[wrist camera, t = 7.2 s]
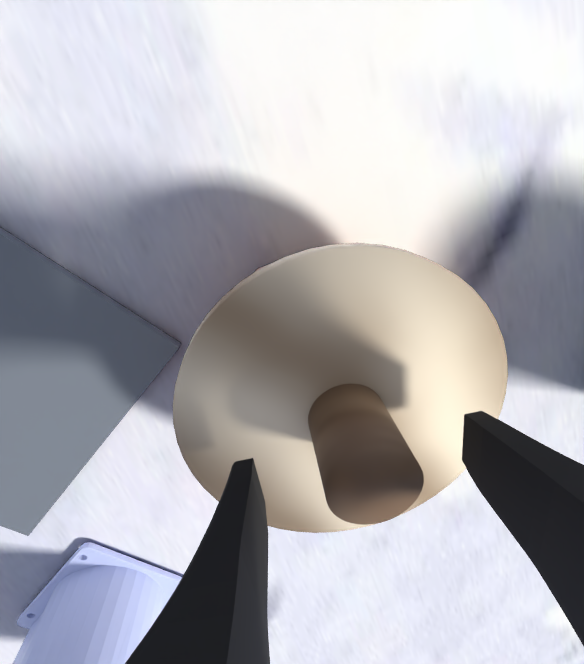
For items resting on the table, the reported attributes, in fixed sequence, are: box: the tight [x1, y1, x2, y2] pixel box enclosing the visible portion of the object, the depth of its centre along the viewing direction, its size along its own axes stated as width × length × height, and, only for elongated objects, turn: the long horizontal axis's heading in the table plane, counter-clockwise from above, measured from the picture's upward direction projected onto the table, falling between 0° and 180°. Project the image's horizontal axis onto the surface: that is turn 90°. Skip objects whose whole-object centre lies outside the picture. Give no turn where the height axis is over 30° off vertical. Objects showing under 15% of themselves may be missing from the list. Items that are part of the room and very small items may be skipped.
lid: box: [173, 243, 508, 533], centre depth 13 cm, size 13×13×4 cm
